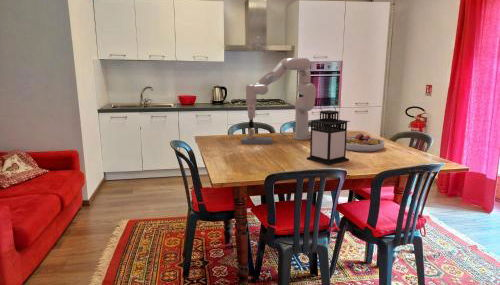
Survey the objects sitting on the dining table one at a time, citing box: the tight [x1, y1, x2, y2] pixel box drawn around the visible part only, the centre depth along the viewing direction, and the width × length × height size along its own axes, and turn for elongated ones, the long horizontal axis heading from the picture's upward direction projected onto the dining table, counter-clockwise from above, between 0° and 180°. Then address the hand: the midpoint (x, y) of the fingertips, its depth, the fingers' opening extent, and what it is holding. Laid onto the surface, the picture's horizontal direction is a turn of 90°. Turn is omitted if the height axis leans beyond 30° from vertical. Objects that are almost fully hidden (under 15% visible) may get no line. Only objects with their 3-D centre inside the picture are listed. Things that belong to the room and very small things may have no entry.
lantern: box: [306, 100, 351, 166], centre depth 212 cm, size 17×17×35 cm
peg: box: [248, 128, 255, 139], centre depth 265 cm, size 4×4×10 cm
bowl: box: [346, 133, 385, 153], centre depth 247 cm, size 30×30×8 cm
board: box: [240, 136, 273, 145], centre depth 266 cm, size 22×11×3 cm, turn 88°
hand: (251, 127), depth 264 cm, fingers closed
